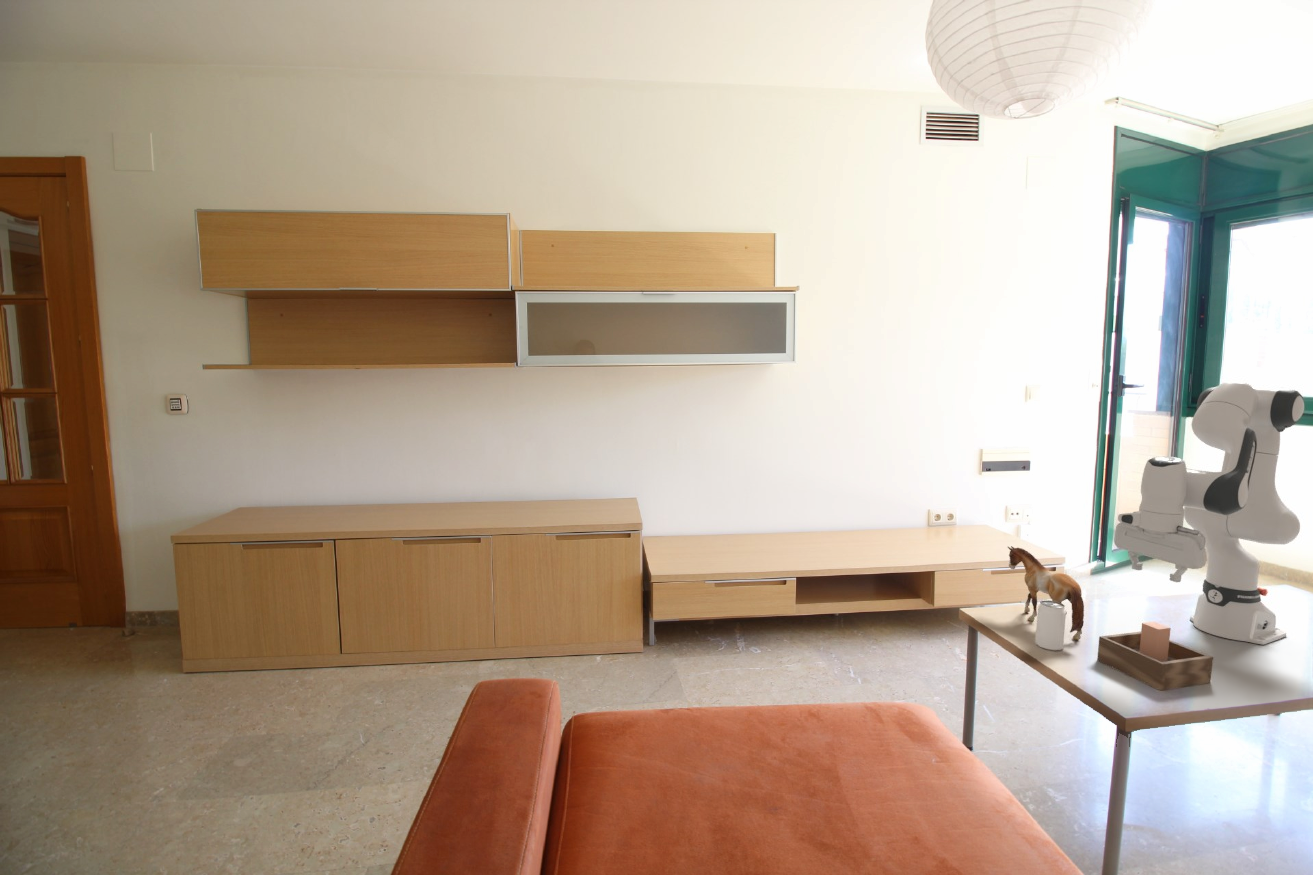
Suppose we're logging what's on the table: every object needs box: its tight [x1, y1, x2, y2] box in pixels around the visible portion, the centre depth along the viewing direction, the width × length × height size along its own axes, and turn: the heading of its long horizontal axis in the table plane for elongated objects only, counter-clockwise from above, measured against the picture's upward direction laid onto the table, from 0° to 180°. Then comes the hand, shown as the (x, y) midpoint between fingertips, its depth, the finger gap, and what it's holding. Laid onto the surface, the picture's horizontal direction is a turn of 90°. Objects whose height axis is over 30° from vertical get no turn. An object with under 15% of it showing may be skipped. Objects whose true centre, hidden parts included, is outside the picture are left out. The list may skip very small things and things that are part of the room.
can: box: [1034, 599, 1067, 652], centre depth 172 cm, size 6×6×12 cm
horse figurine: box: [1007, 546, 1085, 640], centre depth 184 cm, size 31×8×21 cm, turn 5°
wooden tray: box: [1096, 631, 1214, 691], centre depth 158 cm, size 16×16×6 cm
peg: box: [1139, 621, 1171, 662], centre depth 158 cm, size 4×4×12 cm
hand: (1155, 575), depth 159 cm, fingers open, 8 cm apart
